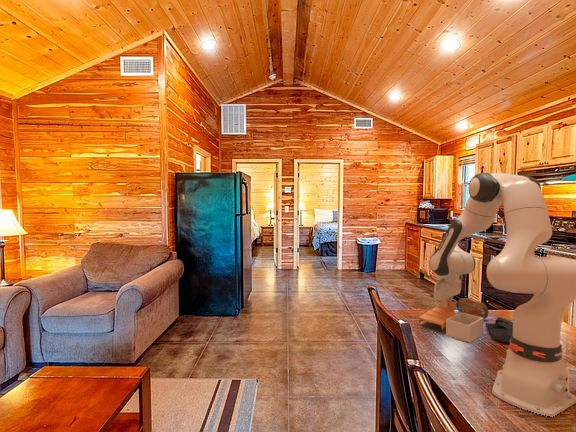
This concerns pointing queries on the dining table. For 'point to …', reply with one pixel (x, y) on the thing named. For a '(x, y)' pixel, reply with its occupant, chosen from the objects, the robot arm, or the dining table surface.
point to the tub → (464, 327)
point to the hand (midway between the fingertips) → (447, 306)
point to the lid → (439, 314)
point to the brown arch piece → (472, 307)
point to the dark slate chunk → (501, 330)
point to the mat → (434, 327)
